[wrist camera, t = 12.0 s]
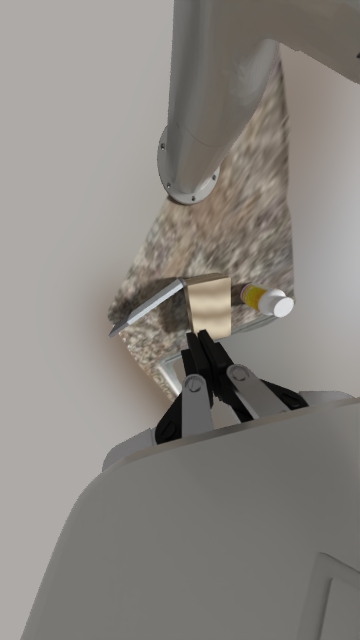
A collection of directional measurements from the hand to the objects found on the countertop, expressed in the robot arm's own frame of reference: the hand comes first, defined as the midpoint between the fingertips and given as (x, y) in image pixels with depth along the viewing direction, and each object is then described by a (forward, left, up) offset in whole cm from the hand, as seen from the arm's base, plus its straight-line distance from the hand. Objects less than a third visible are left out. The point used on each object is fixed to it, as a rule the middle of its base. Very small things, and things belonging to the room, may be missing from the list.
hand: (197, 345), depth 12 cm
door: (+4, -8, -28) cm, 29 cm away
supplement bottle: (+8, +23, -29) cm, 38 cm away
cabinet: (+8, +8, -29) cm, 31 cm away
